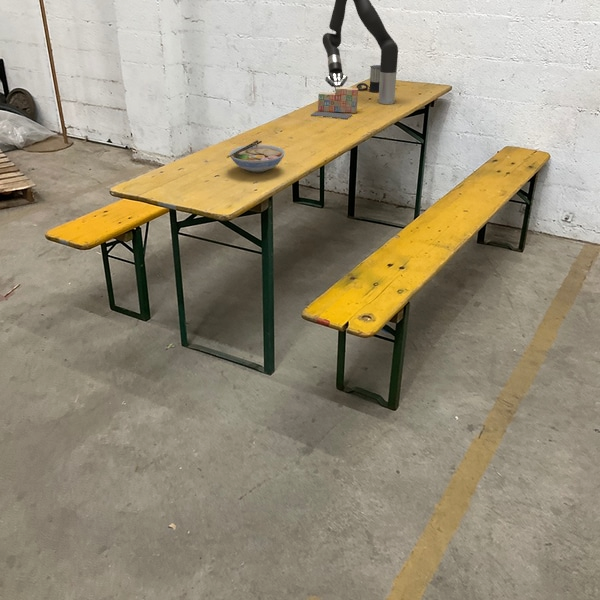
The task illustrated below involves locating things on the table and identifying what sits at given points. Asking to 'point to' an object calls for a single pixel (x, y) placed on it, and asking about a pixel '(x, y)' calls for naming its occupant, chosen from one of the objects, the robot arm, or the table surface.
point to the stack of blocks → (339, 100)
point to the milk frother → (372, 80)
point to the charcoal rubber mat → (331, 115)
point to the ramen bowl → (257, 156)
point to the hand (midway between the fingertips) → (338, 92)
